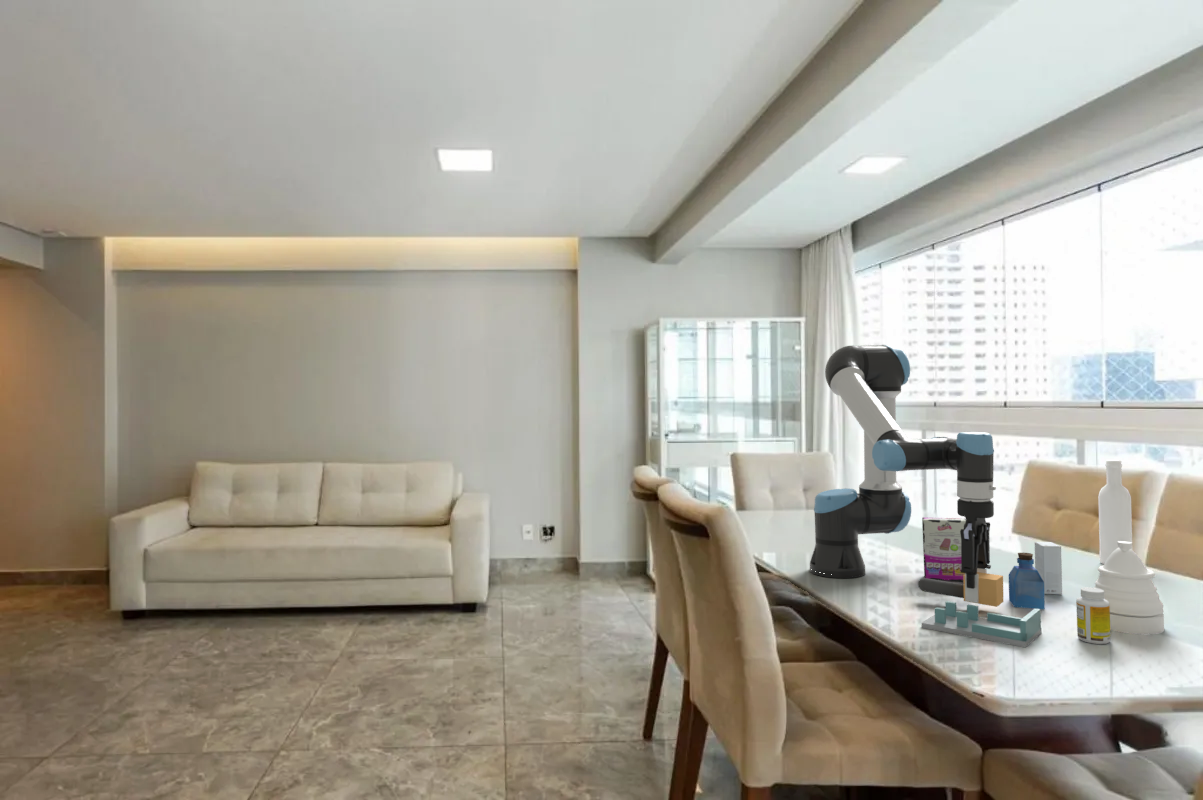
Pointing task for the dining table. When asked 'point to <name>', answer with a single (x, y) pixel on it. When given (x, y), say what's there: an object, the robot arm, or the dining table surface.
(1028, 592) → the perfume bottle
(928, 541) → the candy bar box
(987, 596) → the orange cube-head hammer
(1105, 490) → the bottle
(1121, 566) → the honey pot
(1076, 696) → the dining table surface
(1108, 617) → the supplement bottle
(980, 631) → the teal block plate
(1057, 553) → the skincare box
